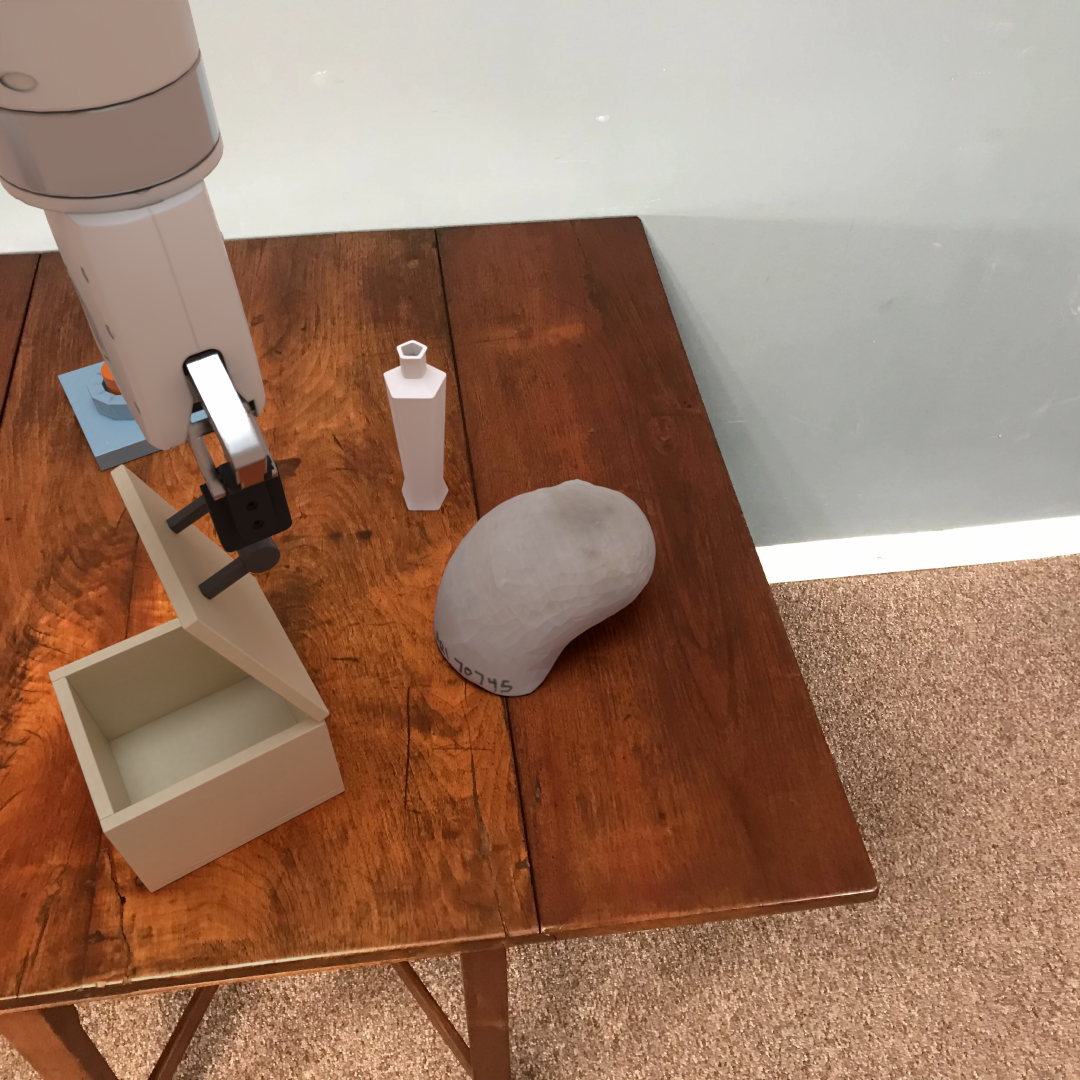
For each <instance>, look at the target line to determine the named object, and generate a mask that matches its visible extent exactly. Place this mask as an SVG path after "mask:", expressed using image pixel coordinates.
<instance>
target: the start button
mask: <svg viewBox="0 0 1080 1080" xmlns="http://www.w3.org/2000/svg"><path fill="white" fill-rule="evenodd" d="M101 374H102V377H103V379H104V381H105V384H106V386H107V389H108V390H109V391H110V392H111V393H112V394H115V395H122V394H121V392H120V390H119V388H118V386H117V384H116V382H115V380H114V378H113V376H112V374H111V372H110V370H109V368H108V366H107V365H106V363H104V364H103V365H102V367H101Z"/></svg>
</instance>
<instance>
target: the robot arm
mask: <svg viewBox="0 0 1080 1080" xmlns="http://www.w3.org/2000/svg"><path fill="white" fill-rule="evenodd" d="M195 26H196V25H195V22H194V18H193V14H192V10H191V6H190V2H189V0H0V184H1V186H2V188H3V189H4V190H5V191H6V192H7V194H8V195H10V196H11V197H13V198H14V199H15V200H18V201H20V202H21V203H23V204H25V205H27V206H30V207H33V208H37V209H40V210H43V213H44V215H45V218H46V221H47V224H48V226H49V229H50V231H51V235H52V237H53V239H54V242H55V244H56V247H57V249H58V252H59V254H60V257H61V259H62V261H63V264H64V267H65V269H66V271H67V274H68V277H69V278H70V281H71V283H72V286H73V288H74V291H75V293H76V296H77V298H78V300H79V303H80V305H81V308H82V311H83V314H84V315H85V318H86V320H87V323H88V326H89V328H90V332H91V334H92V337H93V339H94V342H95V343H96V346H97V348H98V351H99V353H100V355H101V356H102V358H103V361H105V363H106V365H107V366H108V368H109V370H110V372H111V374H112V376H113V378H114V380H115V382H116V384H117V386H118V388H119V390H120V392H121V394H122V396H123V398H124V400H125V402H126V404H127V405H128V407H129V409H130V411H131V413H132V415H133V417H134V419H135V421H136V422H137V424H138V426H139V428H140V430H141V432H142V433H143V435H144V437H145V438H146V440H147V441H148V443H149V444H151V445H152V446H154V447H156V448H158V449H161V450H160V451H164V452H165V451H170V450H171V448H174V447H177V446H181V445H183V444H186V443H187V444H188V447H189V449H190V451H191V453H192V455H193V457H194V460H195V462H196V464H197V466H198V469H199V471H200V473H201V476H202V478H203V480H204V483H203V484H200V485H198V487H199V489H200V493H201V495H203V498H204V500H205V503H206V506H207V508H208V511H209V512H208V514H209V517H210V518H211V522H212V524H213V527H214V530H215V533H216V535H217V538H218V541H219V543H220V545H221V547H222V550H223V551H224V552H226V553H229V554H230V553H235V552H237V550H240V549H242V548H244V547H247V546H249V545H252V544H254V543H256V542H259V541H261V540H264V539H266V538H268V537H274V536H275V535H278V534H281V533H283V532H285V531H288V530H289V529H290V528H291V527H292V526H293V519H292V516H291V515H292V514H291V511H290V508H289V504H288V500H287V497H286V494H285V490H284V486H283V482H282V479H281V475H280V471H279V468H278V464H277V462H276V461H275V459H274V457H273V456H272V453H271V451H270V449H269V446H268V443H267V442H266V438H265V437H264V434H263V432H262V430H261V427H260V425H259V422H258V420H257V418H258V417H260V415H261V414H262V412H263V411H264V408H265V406H266V401H267V400H266V393H265V387H264V383H263V378H262V372H261V369H260V368H261V367H260V364H259V360H258V357H257V352H256V349H255V344H254V342H253V338H252V334H251V329H250V327H249V323H248V319H247V316H246V312H245V309H244V306H243V301H242V298H241V296H240V291H239V288H238V285H237V282H236V279H235V275H234V271H233V268H232V265H231V262H230V258H229V255H228V251H227V249H226V246H225V236H224V233H223V232H222V231H221V230H220V226H219V223H218V220H217V217H216V213H215V210H214V207H213V203H212V200H211V197H210V194H209V191H208V188H207V185H206V182H205V179H206V178H207V177H209V175H211V173H212V172H213V171H214V170H215V169H216V168H217V166H218V165H219V163H220V162H221V160H222V158H223V154H224V141H223V137H222V133H221V129H220V125H219V121H218V117H217V112H216V109H215V105H214V104H215V103H214V100H213V97H212V92H211V88H210V84H209V81H208V76H207V75H208V74H207V72H206V67H205V64H204V59H203V55H202V52H201V48H200V43H199V39H198V34H197V31H196V27H195ZM201 410H204V411H205V413H206V415H207V418H205V419H202V420H199V421H196V422H193V423H192V422H191V414H192V413H195V412H198V411H201ZM212 433H214V434H215V436H216V437H217V440H218V442H219V444H220V447H221V449H222V452H223V458H224V460H225V461H226V462H224V463H221V464H219V465H217V466H216V465H215V462H214V460H213V458H212V456H211V454H210V451H209V449H208V446H207V444H206V442H205V439H204V437H203V436H206V435H209V434H212ZM186 440H187V441H186ZM205 482H206V483H205Z"/></svg>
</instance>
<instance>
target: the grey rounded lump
mask: <svg viewBox="0 0 1080 1080" xmlns="http://www.w3.org/2000/svg"><path fill="white" fill-rule="evenodd" d="M656 553H657V548H656V541H655V535H654V533H653V530H652V526H651V524H650V522H649V520H648V519H647V516H646V514H645V513H644V512H643V511H642V509H641V508H640V507H639V505H638V504H637V503H636V502H635V501H633V499H631V498H630V497H628V496H627V495H625V494H624V493H622V492H621V491H617V490H613V489H611V488H609V487H605V486H601V485H594V484H592V483H591V482H588V481H585V480H582V479H578V478H576V479H570V480H566V481H563V482H561V483H560V484H557V485H554V486H550V487H549V486H548V487H541V488H537V489H535V490H533V491H528V492H524V493H521V494H519V495H516V496H513V497H511V498H509V499H507V500H505V501H503V502H502V503H499V504H498V505H497V506H495V507H494V508H492V509H490V510H489V511H488V512H487V513H486V514H484V515H483V516H482V517H481V518H480V519H479V520H478V521H477V522H476V523H475V524H474V525H473V527H471V529H470V530H469V531H468V532H467V533H466V535H465V536H464V537H463V538H462V540H461V541H460V542H459V544H458V546H457V547H456V549H455V550H454V552H453V553H452V555H451V557H450V558H449V560H448V563H447V565H446V566H445V569H444V571H443V574H442V577H441V581H440V583H439V586H438V590H437V594H436V599H435V606H434V610H433V633H434V638H435V641H436V644H437V646H438V649H439V650H440V652H441V654H442V655H443V656H444V658H445V660H446V661H447V662H448V663H449V664H450V665H451V667H453V669H455V671H457V672H458V673H459V674H460V675H461V676H462V677H463V678H465V679H466V680H468V681H469V682H472V683H473V684H475V685H477V686H479V687H481V688H483V689H484V690H486V691H488V692H491V693H492V694H496V695H500V696H503V697H504V696H505V697H518V696H524V695H528V694H531V693H532V692H533V691H535V690H536V689H537V688H538V687H539V686H540V685H541V684H542V683H543V682H544V681H545V678H546V677H547V676H548V674H549V673H550V671H551V670H552V668H553V666H554V664H555V663H556V662H557V659H558V658H559V657H560V655H561V653H562V652H563V651H564V649H565V648H566V647H567V646H568V645H569V644H570V643H571V642H572V641H573V640H574V639H576V638H577V637H578V636H580V635H582V634H583V633H584V632H586V631H587V630H589V629H591V628H592V627H594V626H596V625H597V624H600V623H601V622H603V621H605V620H606V619H608V618H609V617H612V616H614V615H616V614H617V613H618V612H619V611H621V610H623V609H624V608H626V607H627V606H629V604H631V603H633V602H634V601H635V600H636V599H637V597H638V596H639V594H640V593H641V592H642V591H643V589H644V588H645V586H647V585H648V583H649V582H650V578H651V576H652V575H653V573H654V572H653V571H654V567H655V562H656Z"/></svg>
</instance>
